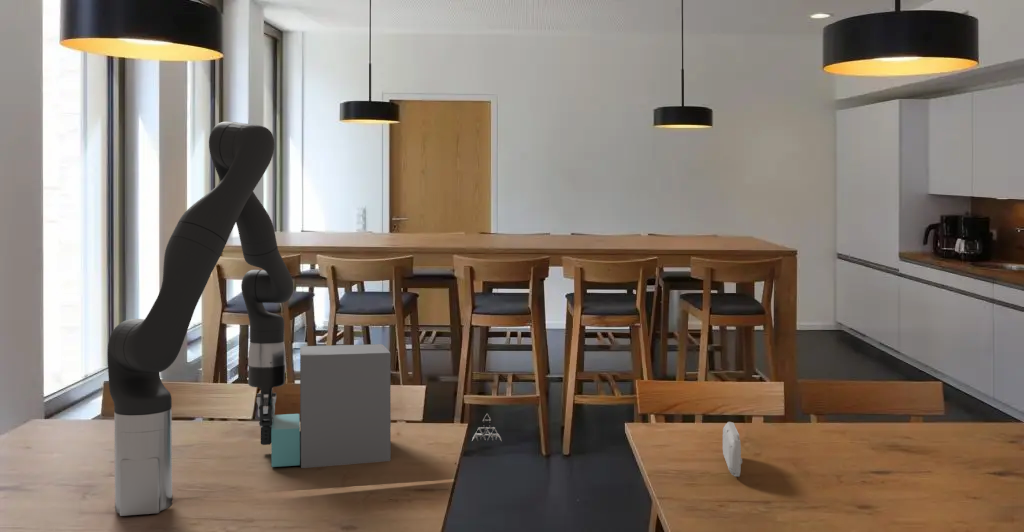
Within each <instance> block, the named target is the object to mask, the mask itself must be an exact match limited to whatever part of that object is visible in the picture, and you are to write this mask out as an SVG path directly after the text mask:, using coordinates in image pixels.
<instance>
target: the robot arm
mask: <svg viewBox="0 0 1024 532" xmlns="http://www.w3.org/2000/svg"><path fill="white" fill-rule="evenodd" d="M208 138H209V139H208V149H209V155H210V156H211V160H212V163H213V165H214V168H215V171H216V173H217V176H218V178H219V181H220V182H219V183H218V184H217V185H216V186H215V187H214V188H213V189H211V190H210V191H208V193H206V194H204V195H203V197H201V198H200V199H199V200H197V201H196V202H194V203H193V204H192V205H191V206H190V207H189V208H188V209H187V210H185V212H184V213H183V214H182V215H181V217H180V219H179V220H178V221H177V224H176V226H175V227H174V230H173V231H172V234H171V235H170V237H169V240H168V242H167V244H166V248H165V250H164V257H163V271H162V272H163V273H162V283H161V286H160V290H159V293H158V295H157V297H156V299H155V301H154V302H153V304H152V306H151V309H150V310H149V312H148V314H147V315H146V317H145V318H129V319H126V320H124V321H122V322H120V323H119V324H118V325H116V326H115V327H114V328H113V330H112V332H111V334H110V336H109V339H108V342H107V343H108V345H107V370H108V371H107V373H108V375H107V376H108V389H109V394H110V398H111V399H112V402H113V406H114V407H113V408H114V412H113V414H114V419H113V420H114V423H113V424H114V432H113V433H114V435H113V436H114V510H115V512H116V513H118V514H119V516H120V517H121V516H124V517H125V516H137V515H149V514H160V512H161V511H164V510H166V509H168V508H170V507H171V506H172V505H173V448H172V447H173V445H172V444H173V440H172V439H173V437H172V436H173V434H172V433H173V430H172V425H173V421H172V418H173V415H172V411H173V410H172V409H173V408H172V407H173V406H172V404H173V403H172V402H173V400H172V394H171V392H170V391H169V390H168V389H167V388H166V386H165V385H164V384H163V382H162V379H161V374H160V373H162V372H164V371H165V370H168V369H169V368H170V367H171V365H173V363H174V362H175V361H176V359H177V358H178V355H179V353H180V351H181V349H182V347H183V344H184V341H185V338H186V335H187V333H188V330H189V327H190V324H191V320H192V318H193V316H194V313H195V310H196V307H197V305H198V303H199V300H200V299H201V297H202V294H203V292H204V290H205V289H206V286H207V285H208V281H209V279H210V277H211V275H212V274H213V270H214V269H215V267H216V266H217V264H218V262H219V260H220V258H221V256H222V254H223V251H224V249H225V248H226V245H227V243H228V240H229V238H230V236H231V233H232V231H233V229H234V226H235V225H236V227H237V228H236V229H237V231H238V236H239V237H238V238H239V241H240V245H241V251H242V254H243V255H242V256H243V258H244V260H245V263H247V264H248V265H250V266H253V267H256V268H259V269H250V270H249V271H247V272H246V273H245V274H244V276H243V277H242V280H241V284H240V287H241V294H242V296H243V297H242V298H243V301H244V304H245V309H246V313H247V317H248V321H249V347H248V358H247V359H248V363H247V364H248V367H247V369H248V372H247V373H248V377H247V379H248V380H247V384H248V386H250V387H251V388H259V389H260V393H259V392H258V393H257V394H256V404H257V416H258V418H259V422H258V424H259V427H260V445H262V446H268V445H269V446H271V429H272V421H273V416H274V415H276V414H275V413H276V402H277V392H273V388H275V387H277V388H278V387H282V386H284V385H285V383H286V348H285V320H284V317H283V316H282V315H280V314H277V313H272V312H269V311H268V310H267V309H266V308H265V306H264V303H265V304H266V303H267V304H270V303H271V304H281V303H282V304H285V303H286V302H288V301H289V300H290V299H291V297H292V296H293V292H294V287H295V286H294V281H293V277H292V275H291V273H290V270H289V268H288V267H287V265H286V263H285V261H284V260H283V259H284V258H283V257H282V256H281V253H280V252H279V248H278V242H277V238H276V232H275V227H274V224H273V221H272V219H271V216H270V214H269V213H268V212H267V210H266V208H265V206H264V205H263V204H262V203H261V201H260V200H259V198H258V197H257V195H256V193H255V192H254V190H255V188H256V187H257V186H258V184H259V182H260V181H261V179H262V178H263V176H264V175H265V173H266V171H267V169H268V167H269V165H270V164H271V161H272V158H273V155H274V151H275V138H274V134H273V133H272V131H271V130H270V129H269V128H267V127H266V126H262V125H259V124H253V123H244V122H236V121H222V122H218V123H217V124H216V125H215V126H214V127H213V128H212V129H211V132H210V135H209V137H208Z"/></svg>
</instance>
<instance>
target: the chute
mask: <svg viewBox="0 0 1024 532" xmlns="http://www.w3.org/2000/svg"><path fill="white" fill-rule="evenodd" d="M270 446H271V449H270V450H271V468H277V467H279V468H280V467H291V466H301V431H300V413H286V414H283V413H282V414H275V415H274V416H273V420H272V429H271V444H270Z"/></svg>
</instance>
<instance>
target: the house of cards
mask: <svg viewBox="0 0 1024 532" xmlns="http://www.w3.org/2000/svg"><path fill="white" fill-rule="evenodd" d="M486 416H487V417H488V418H489V419H485V418H486ZM491 421H492V419H491V416H490V415H489V414H488V413H486V414H485V416H484V417H483V419H482V422H491ZM482 429H484V432H482ZM491 429H492V431H491V432H490V430H491ZM478 430H479V432H480V433H477V431H478ZM477 431H476V432H475V433H474V434H473V437H472V440H471V442H472V441H473V440H474V439H476V440H477V442H479V441H482V439H484V441H485V442H488V441H490V439H491V440H492V441H493V442H495V441H497V439H498V438H499V440H500V441H501V442H502V437H501V436H500V434H499V433H498V431H497V429H496V427H491V426H489V427H487V426H486V427H485V426H483V427H482V426H481V427H480V426H479V427H477ZM493 431H495V432H496V433H493ZM486 436H488V438H487V441H486ZM478 437H480V439H479V438H478ZM494 437H495V440H494Z"/></svg>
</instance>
